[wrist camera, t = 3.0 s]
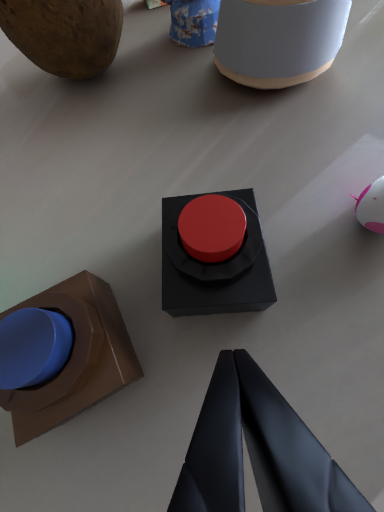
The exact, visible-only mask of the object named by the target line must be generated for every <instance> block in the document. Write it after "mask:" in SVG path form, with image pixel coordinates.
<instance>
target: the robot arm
mask: <svg viewBox="0 0 384 512" xmlns="http://www.w3.org/2000/svg"><path fill="white" fill-rule="evenodd" d="M241 424H242V425H241ZM242 428H243V433H244V437H245V441H246V445H247V449H248V453H249V457H250V461H251V465H252V469H253V473H254V477H255V481H256V485H257V489H258V493H259V497H260V501H261V505H262V509H263V512H376V511H375V509H374V508H373V507H372V506H371V504H370V503H369V502H368V501H367V500H366V498H365V497H364V496H363V495H362V494H361V492H360V491H359V490H358V489H357V488H356V486H355V485H354V484H353V483H352V482H351V480H350V479H349V478H348V477H347V475H346V474H345V473H344V472H343V470H342V469H341V468H340V467H339V465H338V464H337V463H336V462H335V461H334V460H333V459H331V456H330V454H329V453H328V452H327V451H326V449H325V448H324V447H323V446H322V445H321V443H320V442H319V441H318V440H317V438H316V437H315V436H314V435H313V433H312V432H311V431H310V430H309V428H308V427H307V426H306V425H305V423H304V422H303V421H302V420H301V418H300V417H299V416H298V415H297V413H296V412H295V411H294V410H293V408H292V407H291V406H290V405H289V403H288V402H287V401H286V400H285V398H284V397H283V396H282V395H281V393H280V392H279V391H278V390H277V388H276V387H275V386H274V385H273V383H272V382H271V381H270V380H269V378H268V377H267V376H266V375H265V373H264V372H263V371H262V370H261V368H260V367H259V366H258V365H257V363H256V362H255V361H254V360H253V358H252V357H251V356H250V355H249V353H248V352H247V351H246V350H245V349H235V350H233V351H232V350H221V351H220V353H219V356H218V359H217V362H216V365H215V368H214V371H213V374H212V377H211V381H210V384H209V387H208V390H207V393H206V396H205V399H204V402H203V405H202V408H201V411H200V414H199V417H198V420H197V423H196V427H195V430H194V433H193V436H192V439H191V442H190V445H189V448H188V451H187V454H186V457H185V463H183V466H182V469H181V472H180V475H179V478H178V481H177V484H176V487H175V490H174V492H173V495H172V498H171V501H170V504H169V506H168V509H167V512H245V495H244V472H243V448H242Z"/></svg>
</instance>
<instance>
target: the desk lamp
mask: <svg viewBox="0 0 384 512" xmlns="http://www.w3.org/2000/svg"><path fill="white" fill-rule="evenodd" d="M351 3H352V0H221V1H220V8H219V14H218V21H217V28H216V34H215V41H214V48H213V53H214V55H215V56H214V63H215V64H216V66H217V67H218V69H219V71H220V72H221V73H222V74H223V75H225V76H227V77H228V78H230V79H232V80H234V81H235V82H237V83H239V84H242V85H245V86H248V87H252V88H257V89H262V90H264V89H281V88H285V87H288V86H292V85H296V84H299V83H303V82H306V81H309V80H312V79H313V78H315V77H316V76H318V75H319V74H321V73H322V72H324V71H325V70H327V69H328V68H329V67H330V65H331V63H332V62H333V60H334V58H335V56H336V54H337V52H338V50H339V48H340V46H341V44H342V40H343V36H344V32H345V28H346V24H347V19H348V15H349V11H350V7H351Z"/></svg>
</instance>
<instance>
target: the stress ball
mask: <svg viewBox="0 0 384 512" xmlns="http://www.w3.org/2000/svg"><path fill="white" fill-rule="evenodd" d="M350 195H351V194H350ZM351 196H352V195H351ZM353 197H354V196H353ZM354 198H355V197H354ZM355 199H356V198H355ZM356 200H357V203H356V208H355V213H356V217H357V219H358V221H359V222H360V223H361V224H362V225H363V226H364V227H365V228H367V229H369V230H371V231H373V232H376V233H381V234H384V176H383V177H381V178H379V179H377V180H376V181H374V182H373V183H372V184H370V185H369V186H368V187H367V188H366V189H365V190H364V191H363V192H362V193H361V195H360V196H359V198H358V199H356Z"/></svg>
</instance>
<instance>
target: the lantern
mask: <svg viewBox="0 0 384 512" xmlns="http://www.w3.org/2000/svg"><path fill="white" fill-rule="evenodd" d="M160 1H162V2H163V3H165V4H169V5H171V8H170V12H171V22H172V23H171V28H170V34H169V38H170V40H171V41H172V43H175V44H177V45H179V46H182V47H190V48H194V47H204V46H208V45H211V44H214V41H215V34H216V28H217V21H218V14H219V8H220V1H221V0H160Z"/></svg>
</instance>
